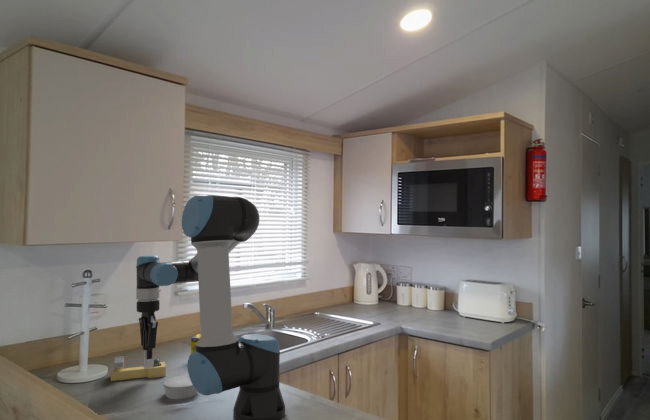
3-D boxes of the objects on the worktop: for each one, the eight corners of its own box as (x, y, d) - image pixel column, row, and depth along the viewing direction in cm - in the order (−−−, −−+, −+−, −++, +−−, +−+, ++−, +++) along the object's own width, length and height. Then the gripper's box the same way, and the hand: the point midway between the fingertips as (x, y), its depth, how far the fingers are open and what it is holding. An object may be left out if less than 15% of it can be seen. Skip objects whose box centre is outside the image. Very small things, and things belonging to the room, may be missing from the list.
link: (164, 370, 170) (164, 361, 170) (165, 376, 165) (165, 366, 165) (111, 377, 163) (111, 367, 163) (110, 382, 158) (110, 372, 158)
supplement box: (204, 366, 179) (204, 338, 180) (190, 365, 180) (190, 337, 181) (210, 361, 185) (211, 334, 185) (196, 360, 186) (197, 333, 186)
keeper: (123, 381, 160) (123, 362, 160) (113, 382, 159) (113, 363, 159) (123, 374, 167) (124, 356, 167) (114, 375, 166) (115, 356, 166)
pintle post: (159, 375, 166) (159, 360, 166) (153, 376, 165) (153, 360, 165) (159, 373, 168) (159, 358, 168) (153, 374, 167) (153, 359, 167)
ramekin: (206, 396, 149) (206, 380, 149) (175, 407, 141) (175, 390, 141) (187, 388, 156) (187, 372, 156) (157, 397, 148) (157, 381, 148)
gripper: (165, 300, 158) (165, 369, 157) (152, 296, 168) (152, 361, 167) (143, 303, 153) (143, 374, 153) (131, 299, 164) (131, 365, 163)
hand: (148, 367), depth 160 cm, fingers closed
